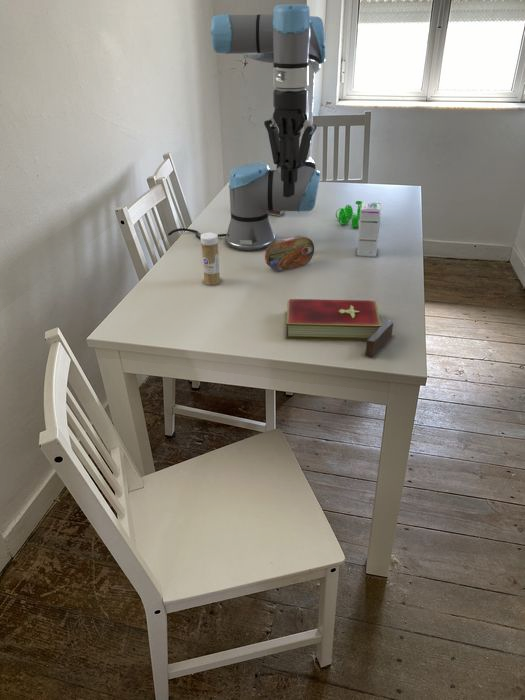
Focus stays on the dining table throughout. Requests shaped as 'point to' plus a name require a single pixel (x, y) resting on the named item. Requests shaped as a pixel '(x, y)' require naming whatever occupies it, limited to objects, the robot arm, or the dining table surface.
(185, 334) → the dining table surface
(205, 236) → the sprinkles bottle
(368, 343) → the bar
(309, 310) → the hardcover book
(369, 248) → the syrup box
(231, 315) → the dining table surface
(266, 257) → the tin
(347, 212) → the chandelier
